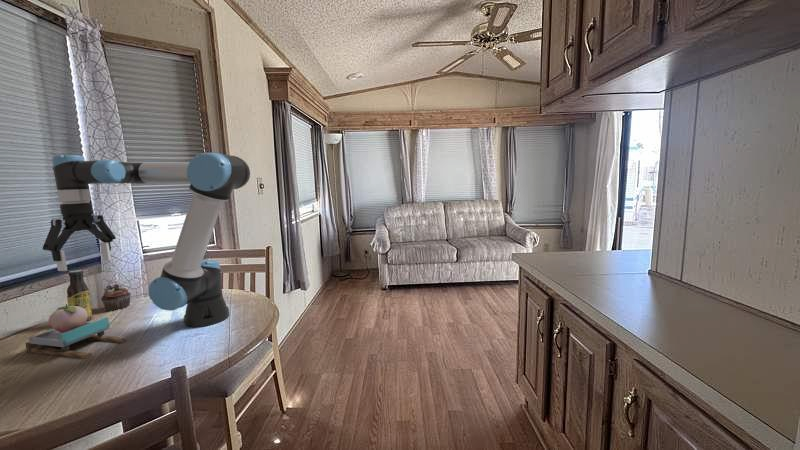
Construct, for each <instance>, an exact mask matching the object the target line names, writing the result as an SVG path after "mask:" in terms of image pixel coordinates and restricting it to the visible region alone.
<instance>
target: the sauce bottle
mask: <svg viewBox="0 0 800 450" xmlns="http://www.w3.org/2000/svg"><path fill="white" fill-rule="evenodd" d="M68 276H69V283H70V284H69V285H68V287H67V289H66V294H67V296H66V299H67V306H79V307H82V308H84V309H85V310H86V311H87V313H88V318H87V322H89V321H90V319H91V320H92V316H93V313H92V303H91V295H90V293H91V292H90V289H89V287H88V285H87V284H86V282H85V279H84V270H83V269H76V270H70V271H68Z"/></svg>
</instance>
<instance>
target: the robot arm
mask: <svg viewBox="0 0 800 450" xmlns="http://www.w3.org/2000/svg"><path fill="white" fill-rule="evenodd" d="M52 171H53V175H54V179H55V184H56V191H57V196H58V202H59V203H60V205H59V207H60V209H59V210H60V214H61V216H62V219H60V218H59V219H53V218H52V219H51V220H50V229H49V231H48V234H47V236H46V238H45V241H44V244H43V246H42V250H43V251H49V252H51V256H52V260H53V262H55V263H56V267H57V268H56V269H57V271H58V272H67V271H68V264H67V259H66V255H65V250H62V249H63V247H64V246H65V244H66V243H67V241H68V240H69V239H70V237H71V236H72V234H74V233H75V232H81V231H88V232H89V233H91V234H92V235H94V237H96V238H97V239H99V241H101V242H99V247H100V252H101V253H100V254H101V260H102V261H104V262H105V261H106V262H109V261H112V258H111V250H112V248H111V247H112V246H111V243H112V242H113V241H114V240H115V239H116V236H115V234H114V232H113V231H112V230H111V228H109V226H108V225H107V223H106V221H105V220H104V216H103V215H102V214H99V215H96V214H95V215H92V214H93V205H92V203H91V200H92V198H91V192H90V187H89V185H93V184H94V185H95V184H96V185H97V184H135V185H137V184H138V185H139V184H140V185H142V184H190V185H189V188H188V189H189V190H190V192H191V193H192V197H191V198H190V199H191V200H190V202H189V206H188V209H187V212H186V215H185V219H184V221H183V223H182V224H183V225H182V227H181V231H180V234H179V236H178V239H177V243H176V246H175V249H174V251H173V252H174V253H173V255H172V258H171V261H168V262H166V263H165V264H164V265H163V267H162V271H161V273H160V276H159V277H157V278H155V279H154V280H152V281H151V282H150V284H149V285H148V288H147V289H148V290H147V292H148V297H149V299H150V300H151V302H152V303H153V304H154V306H155V307H156V308H159V309H160V310H164V311H174V310H178V309H179V308H183V307H185V306H186V308H185V312H184V313H185V314H184V315H183V323H184V325H185V326H187V327H189V328H190V327H191V328H198V327H206V326H211V325H214V324H218V323H220V322H222V321H224V320H226V319H228V318H229V316H230V309H229V307H228V306H227V303H226V301H225V299H224V295H223V287H222V284H223V283H222V275H221V265H220V262H219V261H218V260H216V259H204V257H205V255H206V251H207V248H208V246H209V243H210V240H211V237H212V234H213V232H214V229H215V225H216V222H217V219H218V217H219V214H220V211H221V209H222V206H223V203H226V202H228V201H229V200H230V199H231V195H232V192H233V190H237V189H241V188H243V187H244V186H246V184H247V183H248V182H249V180H250V177H251V169H250V167H249V164H248V163H247V162H246V161H245V160H244V159H243V158H241V157H238V156H235V155H232V154H231V155H230V154H229V155H228V154H224V153H218V152H214V151H213V152H202V153H199V154H197V155H195V156H194V157H193V158H192V159H191V160H190V161H188V162H184V161H183V162H180V161H179V162H178V161H177V162H130V161H129V162H128V161H127V162H125V161H118V160H114V159H98V160H97V159H96V160H95V159H94V160H85V158H84V156H82V155H78V154H56V155H53V156H52ZM93 222H94V223H95V224H94V223H93ZM63 226H64V227H63ZM62 227H63V229H62ZM61 231H62V232H61Z"/></svg>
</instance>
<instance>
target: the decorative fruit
mask: <svg viewBox="0 0 800 450" xmlns="http://www.w3.org/2000/svg"><path fill="white" fill-rule="evenodd" d="M87 318H88V313H87V311H86V310H85V309H84V308H82V307H79V306H68V303H66V304H65V305H63V306H61V307H58V308H57V309H56V310H55V311H53V312H52V314H50V316H49V317H48V324H49V326H50V327H51V328H52V329H55V330H56V331H59V332H61V333H65V332H68V331H70V330H73V329H76V328H78V327H81V326H83V325H84V324H85V323H86V321H87ZM87 322H88V321H87Z"/></svg>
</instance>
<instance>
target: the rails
mask: <svg viewBox="0 0 800 450" xmlns="http://www.w3.org/2000/svg"><path fill="white" fill-rule="evenodd" d="M84 340H90V341H91V340H92V341H101V342H102V341H103V342H111V343H118V344H119V343H121V344H122V343H124V342H126V341H127V339H126V337H121V336H120V337H118V336H109V335H103V336H100V337H99V336H98V335H97V334H95V335H92V336H90V337H88V338H85V339H84ZM47 346H48V345H45V347H43V348H41V349H39V348H38V347H37V344H31V343H30V342H29V341H27V342H25V348H26V352H27V353H36V354H37V353H38V354H47V355H54V356H64V357H69V358H70V357H71V358H77V359H78V358H80V359H90V358H91V357H93V353H92V352H87V351H86V352H85V351H78V350H77V351H76V350H75V351H74V350H70V349H69V350H67V351H62V350H61V348H59V349H57V348H52V347H50V348H49V347H47Z"/></svg>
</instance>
